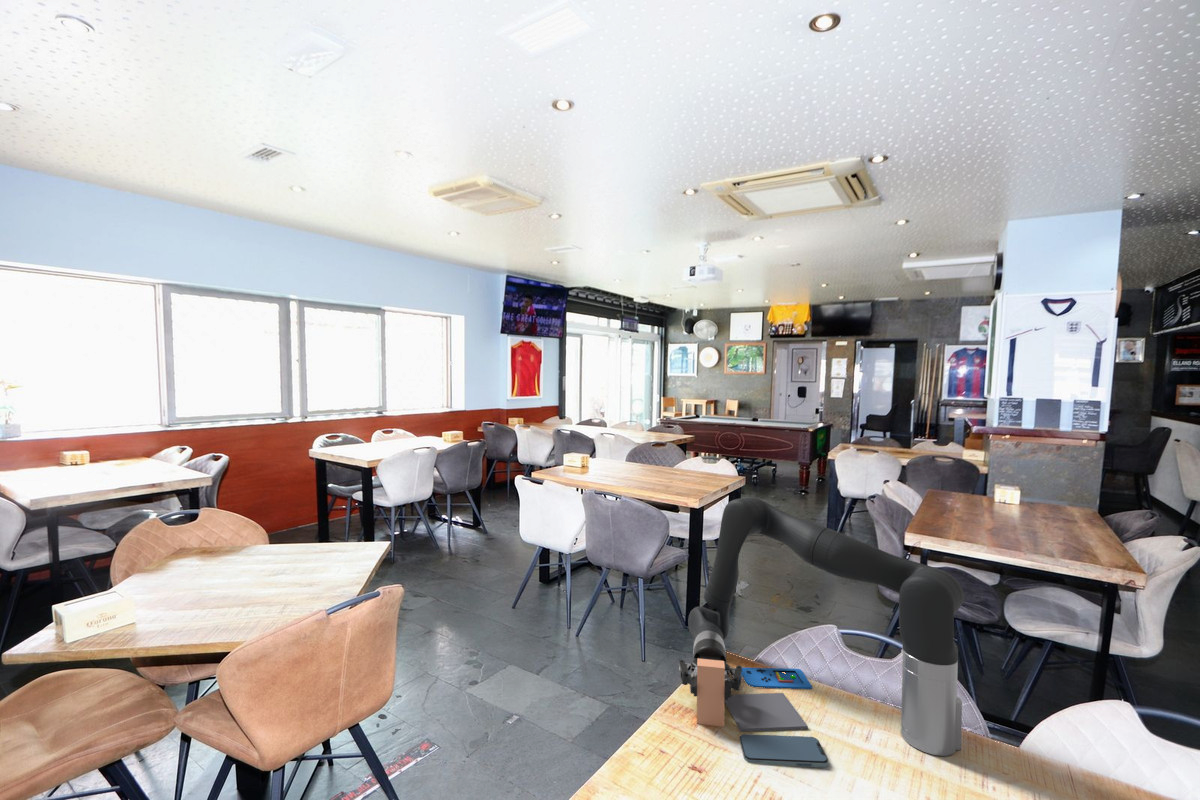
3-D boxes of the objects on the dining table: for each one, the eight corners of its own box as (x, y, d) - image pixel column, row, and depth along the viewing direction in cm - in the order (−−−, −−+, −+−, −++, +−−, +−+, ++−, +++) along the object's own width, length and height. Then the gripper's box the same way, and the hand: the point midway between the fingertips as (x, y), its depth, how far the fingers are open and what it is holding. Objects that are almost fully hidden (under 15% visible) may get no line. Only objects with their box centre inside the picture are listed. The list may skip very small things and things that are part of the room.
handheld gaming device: (739, 666, 131) (800, 667, 131) (739, 670, 131) (800, 672, 131) (747, 684, 123) (813, 685, 123) (747, 689, 123) (813, 690, 123)
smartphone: (738, 732, 106) (816, 735, 104) (738, 741, 106) (817, 744, 104) (745, 758, 98) (829, 762, 97) (745, 767, 98) (829, 771, 97)
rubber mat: (783, 695, 120) (783, 692, 120) (807, 729, 108) (807, 726, 108) (722, 697, 119) (722, 694, 119) (740, 731, 107) (740, 728, 107)
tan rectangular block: (723, 717, 112) (724, 660, 111) (724, 726, 109) (724, 668, 108) (696, 714, 113) (697, 658, 112) (696, 723, 110) (697, 665, 109)
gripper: (678, 634, 126) (675, 671, 109) (741, 640, 123) (747, 679, 107) (678, 666, 126) (674, 708, 109) (741, 672, 123) (747, 716, 107)
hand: (710, 693), depth 108 cm, fingers closed on tan rectangular block, 5 cm apart
